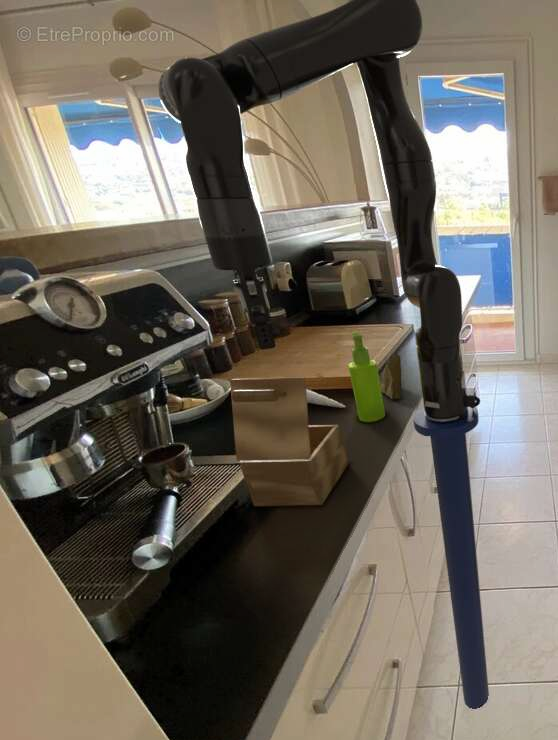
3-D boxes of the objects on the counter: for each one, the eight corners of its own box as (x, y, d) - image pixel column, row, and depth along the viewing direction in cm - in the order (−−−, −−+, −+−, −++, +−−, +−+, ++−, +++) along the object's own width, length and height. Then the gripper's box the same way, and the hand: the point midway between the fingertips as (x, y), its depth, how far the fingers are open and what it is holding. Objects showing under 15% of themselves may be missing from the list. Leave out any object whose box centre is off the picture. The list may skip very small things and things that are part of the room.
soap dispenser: (384, 407, 109) (370, 327, 100) (386, 419, 103) (371, 336, 95) (358, 411, 107) (342, 330, 99) (359, 424, 101) (342, 339, 93)
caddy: (288, 465, 86) (277, 425, 82) (348, 464, 86) (339, 424, 83) (253, 506, 75) (238, 462, 71) (322, 504, 75) (310, 461, 71)
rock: (409, 392, 111) (419, 372, 119) (383, 368, 107) (395, 350, 116) (380, 414, 115) (391, 393, 123) (354, 391, 111) (368, 372, 120)
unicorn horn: (334, 415, 105) (329, 396, 103) (267, 398, 115) (262, 381, 113) (349, 407, 109) (345, 389, 107) (283, 391, 119) (278, 375, 116)
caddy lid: (233, 378, 70) (211, 380, 65) (305, 377, 70) (289, 378, 66) (239, 459, 71) (218, 467, 67) (311, 458, 72) (295, 465, 67)
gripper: (270, 234, 60) (297, 348, 67) (260, 228, 71) (285, 327, 78) (203, 238, 57) (240, 358, 64) (204, 231, 67) (235, 334, 74)
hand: (265, 341), depth 71 cm, fingers open, 8 cm apart
